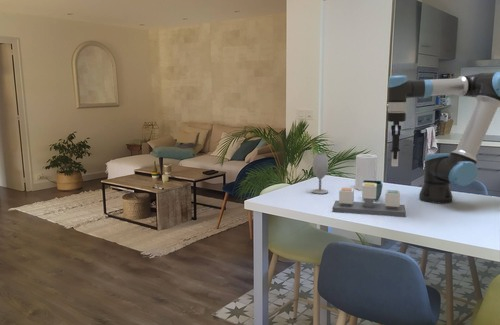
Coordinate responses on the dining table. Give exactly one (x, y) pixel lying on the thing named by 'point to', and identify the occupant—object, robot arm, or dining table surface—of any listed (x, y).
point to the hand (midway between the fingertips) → (394, 166)
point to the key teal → (392, 198)
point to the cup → (365, 169)
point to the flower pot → (378, 189)
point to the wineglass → (320, 170)
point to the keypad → (369, 208)
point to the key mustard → (369, 190)
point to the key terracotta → (346, 195)
